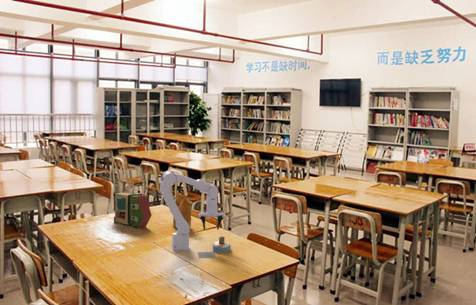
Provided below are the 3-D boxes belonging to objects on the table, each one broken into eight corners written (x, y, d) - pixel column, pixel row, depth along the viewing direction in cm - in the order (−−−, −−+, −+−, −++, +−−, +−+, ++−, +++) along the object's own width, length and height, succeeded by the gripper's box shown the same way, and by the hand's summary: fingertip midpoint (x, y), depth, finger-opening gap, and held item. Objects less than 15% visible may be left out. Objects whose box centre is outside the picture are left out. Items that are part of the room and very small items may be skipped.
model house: (109, 192, 287) (141, 197, 270) (120, 190, 294) (151, 195, 277) (110, 223, 288) (141, 231, 271) (120, 221, 296) (151, 228, 279)
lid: (213, 247, 235) (214, 239, 234) (212, 242, 243) (213, 234, 243) (230, 247, 236) (230, 239, 235) (229, 242, 244) (229, 234, 244)
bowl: (213, 253, 235) (213, 248, 234) (211, 247, 244) (211, 242, 244) (231, 253, 236) (231, 247, 236) (228, 247, 246) (228, 242, 245)
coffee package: (184, 224, 292) (185, 191, 290) (192, 228, 281) (193, 195, 279) (170, 225, 287) (171, 192, 284) (178, 230, 276) (179, 196, 274)
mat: (199, 258, 226) (199, 258, 226) (197, 253, 235) (197, 252, 235) (216, 258, 228) (216, 257, 227) (213, 252, 236) (213, 251, 236)
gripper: (199, 207, 239) (198, 231, 240) (225, 207, 242) (224, 231, 243) (198, 204, 246) (197, 228, 247) (223, 204, 248) (223, 227, 250)
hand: (211, 229), depth 245 cm, fingers open, 7 cm apart
